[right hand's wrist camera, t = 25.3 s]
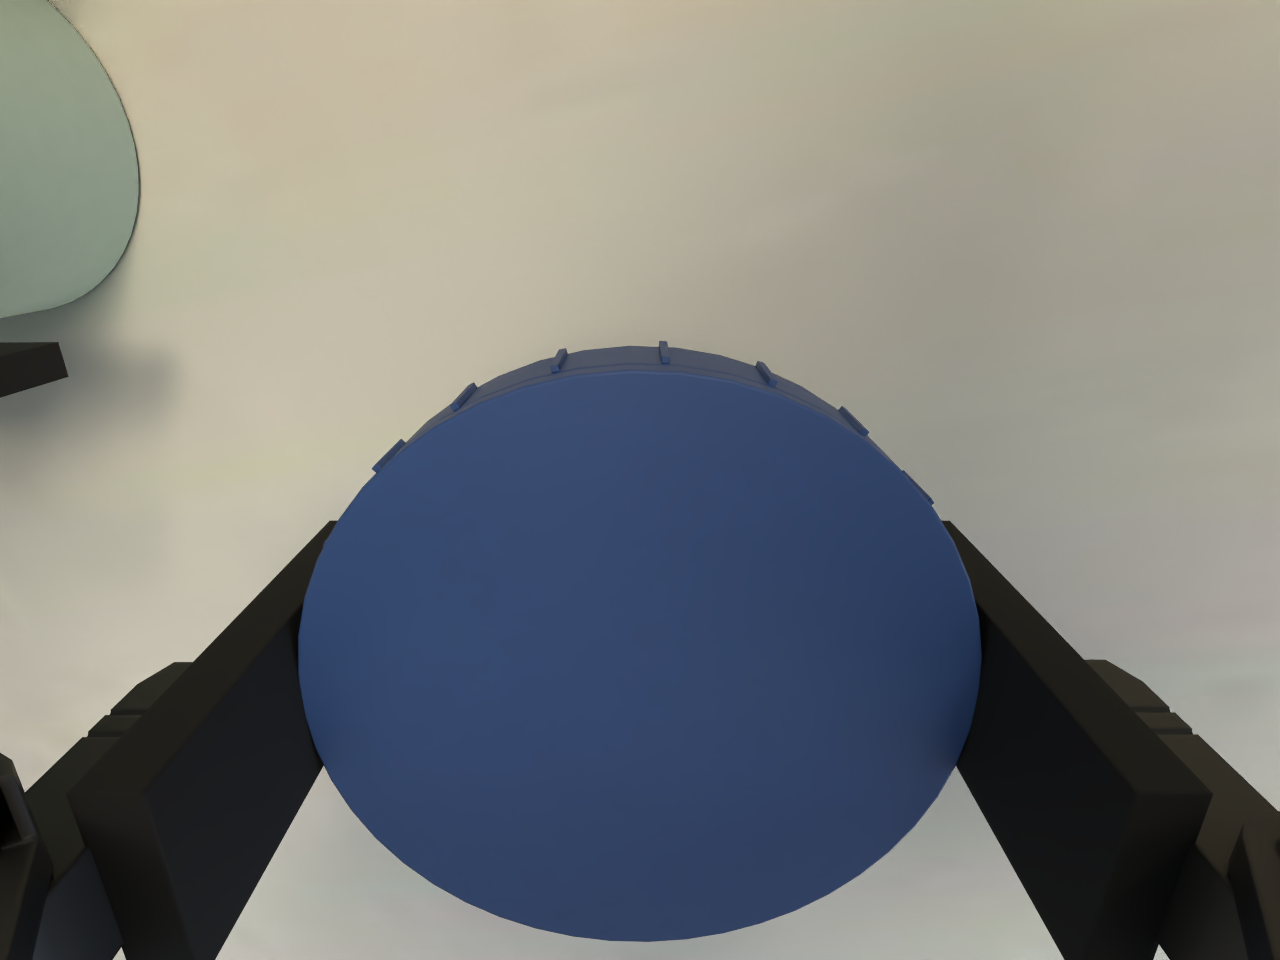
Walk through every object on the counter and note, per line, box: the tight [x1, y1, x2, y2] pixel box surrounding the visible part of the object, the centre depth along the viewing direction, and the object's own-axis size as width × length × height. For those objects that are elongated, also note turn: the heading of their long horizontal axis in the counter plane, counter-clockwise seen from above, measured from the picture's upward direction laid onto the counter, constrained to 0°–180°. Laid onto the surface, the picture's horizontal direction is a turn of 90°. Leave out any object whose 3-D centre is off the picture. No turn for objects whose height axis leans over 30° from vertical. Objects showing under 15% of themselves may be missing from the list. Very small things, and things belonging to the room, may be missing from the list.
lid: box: [298, 341, 982, 942], centre depth 11 cm, size 10×10×2 cm
